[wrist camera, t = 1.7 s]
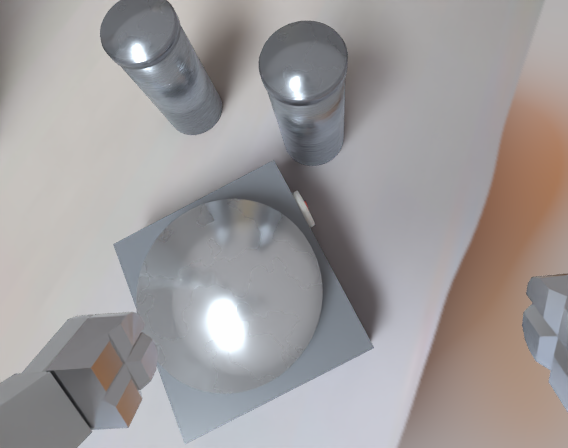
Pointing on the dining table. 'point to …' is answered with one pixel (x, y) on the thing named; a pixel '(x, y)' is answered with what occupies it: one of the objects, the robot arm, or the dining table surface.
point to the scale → (322, 347)
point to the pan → (230, 295)
